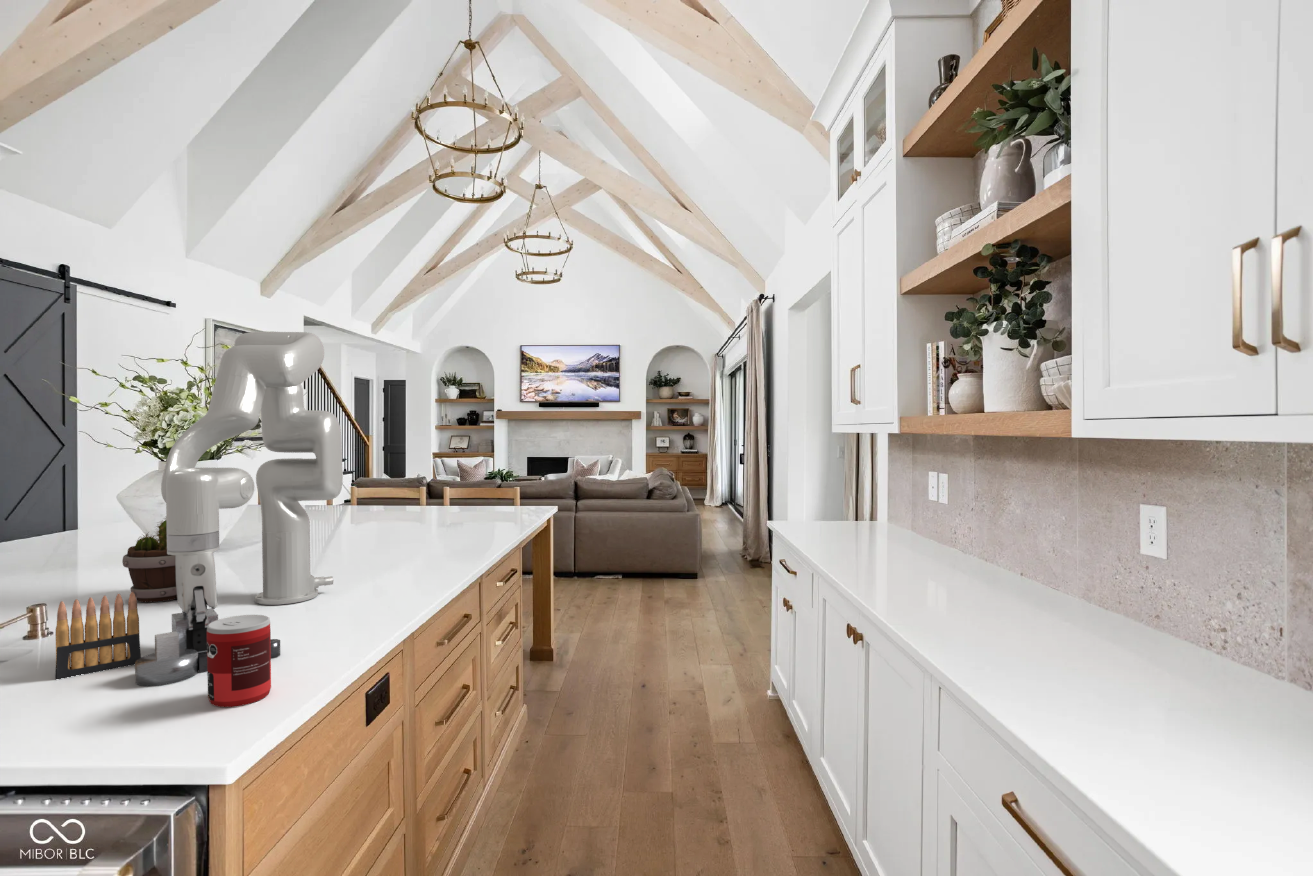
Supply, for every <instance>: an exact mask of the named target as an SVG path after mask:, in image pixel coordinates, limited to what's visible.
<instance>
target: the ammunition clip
mask: <svg viewBox="0 0 1313 876" xmlns="http://www.w3.org/2000/svg"><path fill="white" fill-rule="evenodd" d="M88 598H89V599H88V601H87V604H86V608H85V609H86V610H85V622H84V623H83V617H82V616H83V615H82V613H83V612H82V606H81V604H80V601H79V600H78V599H77V598H76V599H74V602H73V604H72V608H71V609H72V610H71V620H70V621H71V624H70V626H69V624H68V623H69V622H68V621H69V620H68V612H67V607H66V604H65V602H64V600H61V601H60V602H59V604H58V607H57V613H56V627H55V669H54V670H55V672H54V679H55V680H56V679H59V680H62V679H61V678H64V679H68V678H67V677H69V678H72V677H71V676H74V677H77V676H76V675H79V676H82V675H81V674H84V675H90V674H94V673H93V672H95V673H100V672H104V671H103V670H105V671H109V669H110V670H115V669H119V668H118V667H121V668H125V667H124V666H126V667H129V666H128V665H131V666H135V665H134V664H135V662H136V660H138V659H140V658H142V653H141V642H140V641H141V640H140V616H139V612H138V611H139V610H138V601H137V599H136V596H135V594H134V592H131V591H130V594H129V598H128V601H127V602H128V604H127V607H128V608H127V616H126V617H125V609H124V601H123V598H122V595H121V594H120V593H117V595H116V597H115V600H114V607H113V608H114V609H113V610H114V611H113V620H112V618H111V610H110V608H111V607H110V603H109V600H108V597H107V596H106V595H103V597H102V598H101V602H100V609H99V611H100V612H99V613H100V614H99V620H98V621H99V622H98V621H97V614H96V612H97V610H96V605H95V601H94V599H93V598H92V597H88ZM99 671H100V672H99ZM89 673H90V674H89Z"/></svg>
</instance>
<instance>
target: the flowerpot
mask: <svg viewBox="0 0 1313 876" xmlns="http://www.w3.org/2000/svg"><path fill="white" fill-rule="evenodd" d="M163 519H164V520H163ZM163 519H162V520H160V521H158V522H156V523H157V526H156V527H157V528H156V527H155V535H150V536H149V533H150V531H148V533H147V532H146V533H145V535H144V534H142V533H141V536H139V537H138V538H137V539H136V543H135V545H133V546H129V547H128V549H127V553H125V554H124V555H123V556H122V565H123V568H127V569H128V574H129V577H130V580H131V583H132V586H131V587H130V593H131V592H134V594H135V596H136V600H137V602H140V603H159V602H158V601H162V602H168V600H169V601H173V600H175V599H176V600H177V590H176V565H175V555H168V554H167V521H166V517H164V518H163Z"/></svg>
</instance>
